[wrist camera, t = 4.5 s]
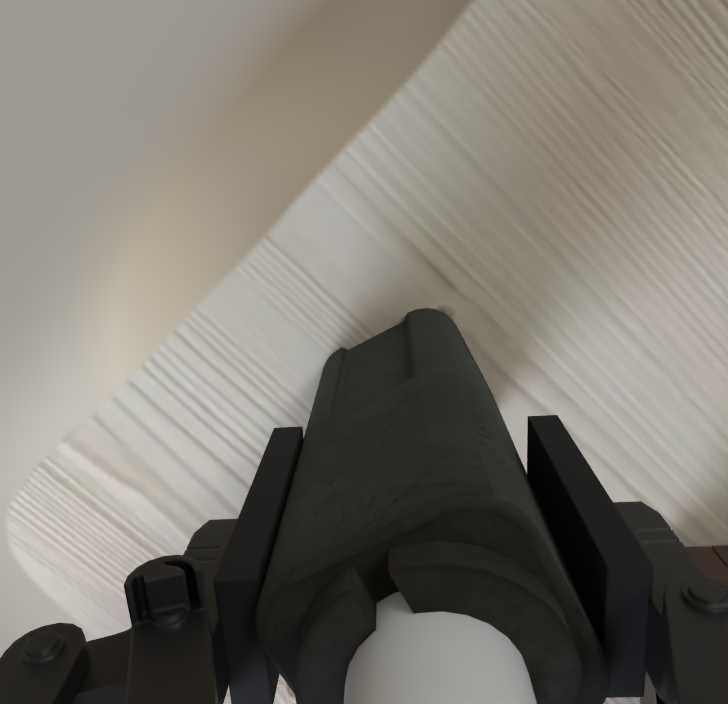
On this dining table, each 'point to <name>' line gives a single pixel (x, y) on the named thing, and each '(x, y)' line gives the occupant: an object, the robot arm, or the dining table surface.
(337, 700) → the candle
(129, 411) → the dining table surface
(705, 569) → the rack
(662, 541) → the robot arm
